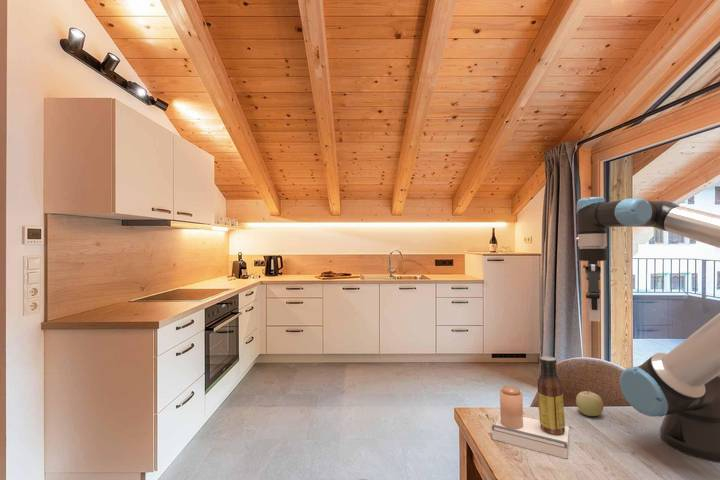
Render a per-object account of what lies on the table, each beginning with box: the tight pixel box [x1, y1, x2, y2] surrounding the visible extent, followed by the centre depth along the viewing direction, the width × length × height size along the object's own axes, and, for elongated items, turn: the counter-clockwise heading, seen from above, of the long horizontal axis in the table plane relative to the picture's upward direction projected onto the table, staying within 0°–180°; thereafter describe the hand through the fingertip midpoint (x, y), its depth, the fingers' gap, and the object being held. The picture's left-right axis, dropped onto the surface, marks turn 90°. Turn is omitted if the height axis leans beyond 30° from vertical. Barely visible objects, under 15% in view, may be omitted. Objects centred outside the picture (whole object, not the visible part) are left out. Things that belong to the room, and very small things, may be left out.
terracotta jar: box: [499, 385, 524, 429], centre depth 102 cm, size 6×6×10 cm
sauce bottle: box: [537, 355, 566, 435], centre depth 99 cm, size 7×6×20 cm
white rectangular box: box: [491, 415, 570, 459], centre depth 100 cm, size 18×13×4 cm
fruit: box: [575, 389, 604, 417], centre depth 113 cm, size 8×7×8 cm
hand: (594, 317), depth 109 cm, fingers open, 13 cm apart
